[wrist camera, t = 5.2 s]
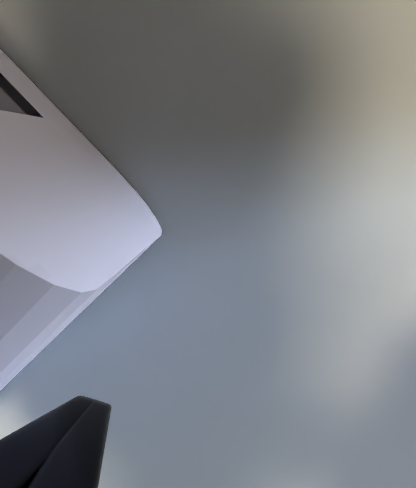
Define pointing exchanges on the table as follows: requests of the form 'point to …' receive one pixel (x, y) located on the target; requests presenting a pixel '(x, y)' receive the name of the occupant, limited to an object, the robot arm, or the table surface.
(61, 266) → the charger
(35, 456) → the robot arm
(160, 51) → the table surface
